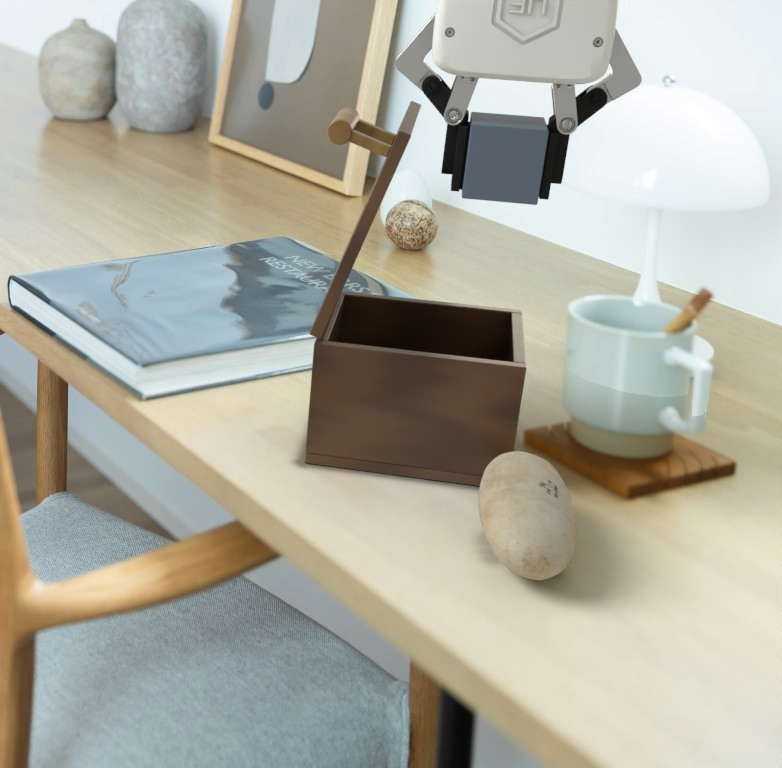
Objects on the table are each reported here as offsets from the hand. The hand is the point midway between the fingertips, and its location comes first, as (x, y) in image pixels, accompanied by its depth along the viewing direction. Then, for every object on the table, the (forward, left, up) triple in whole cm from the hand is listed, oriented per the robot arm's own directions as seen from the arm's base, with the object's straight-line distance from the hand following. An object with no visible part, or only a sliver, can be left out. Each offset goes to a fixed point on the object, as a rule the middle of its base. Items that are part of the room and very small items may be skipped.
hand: (498, 187), depth 73 cm
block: (0, 0, 0) cm, 0 cm away
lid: (+8, -3, -4) cm, 9 cm away
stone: (-4, +10, -20) cm, 22 cm away
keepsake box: (+4, -3, -20) cm, 20 cm away
